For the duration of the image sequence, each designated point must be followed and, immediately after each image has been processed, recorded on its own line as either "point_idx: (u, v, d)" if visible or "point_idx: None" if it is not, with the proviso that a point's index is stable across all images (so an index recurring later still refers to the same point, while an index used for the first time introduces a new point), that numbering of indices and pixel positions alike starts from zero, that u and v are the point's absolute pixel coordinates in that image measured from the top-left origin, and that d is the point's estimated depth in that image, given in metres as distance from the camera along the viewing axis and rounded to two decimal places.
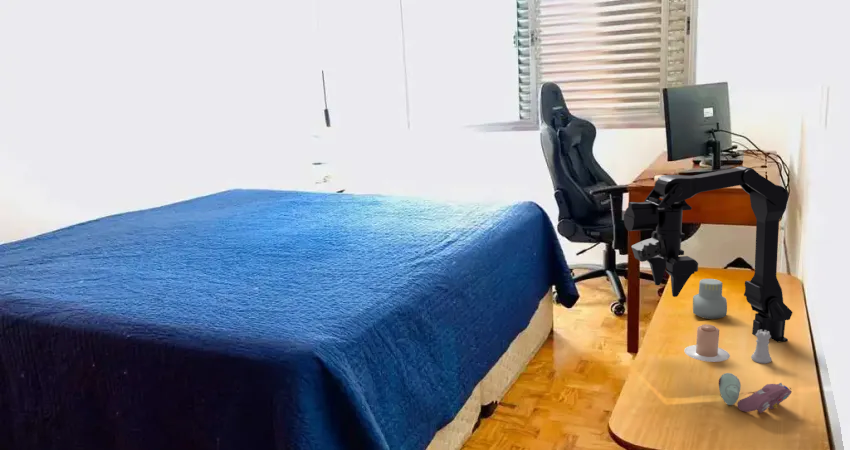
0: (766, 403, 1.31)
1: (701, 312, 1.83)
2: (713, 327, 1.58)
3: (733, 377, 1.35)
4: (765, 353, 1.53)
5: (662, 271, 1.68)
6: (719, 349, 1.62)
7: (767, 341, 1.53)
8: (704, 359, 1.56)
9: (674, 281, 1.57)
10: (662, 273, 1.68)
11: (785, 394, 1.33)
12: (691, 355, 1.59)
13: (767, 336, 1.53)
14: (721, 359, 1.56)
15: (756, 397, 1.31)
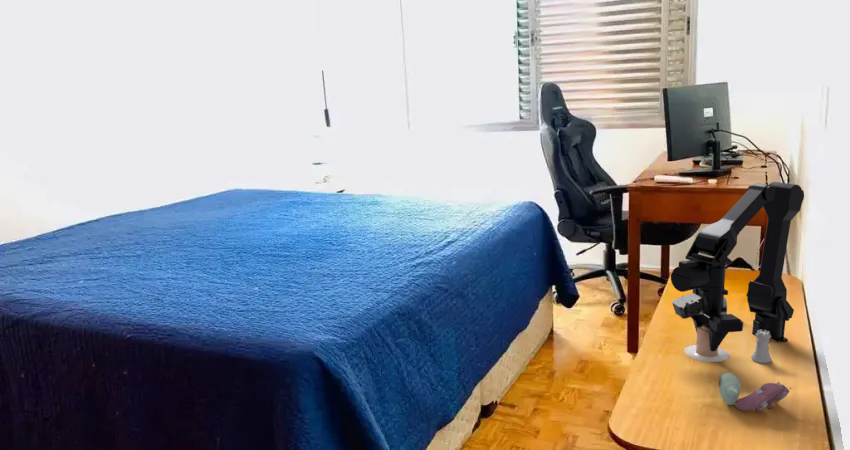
0: (764, 402, 1.31)
1: None
2: None
3: (733, 377, 1.35)
4: (765, 353, 1.53)
5: None
6: (719, 349, 1.62)
7: (767, 341, 1.53)
8: (704, 359, 1.56)
9: (713, 336, 1.55)
10: None
11: (783, 393, 1.33)
12: (691, 355, 1.59)
13: (767, 336, 1.53)
14: (721, 359, 1.56)
15: (755, 396, 1.31)
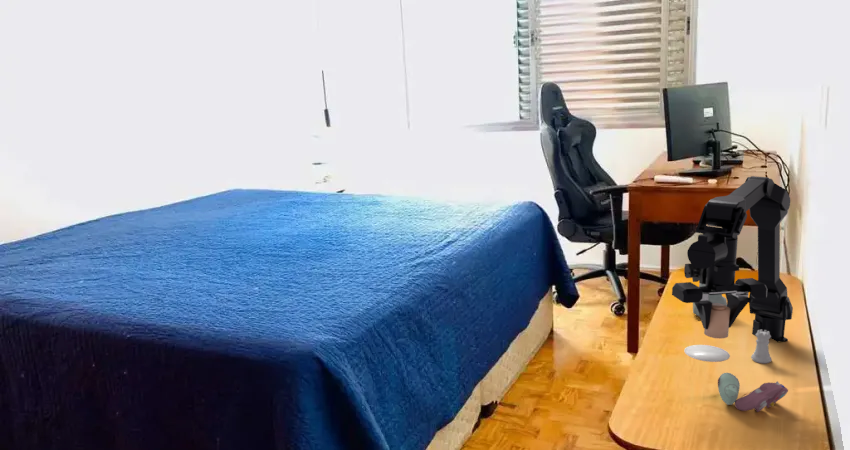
0: (763, 402, 1.31)
1: None
2: (717, 307, 1.44)
3: (732, 377, 1.35)
4: (765, 353, 1.53)
5: (732, 313, 1.44)
6: (719, 349, 1.62)
7: (767, 341, 1.53)
8: (704, 359, 1.56)
9: (697, 308, 1.45)
10: (731, 315, 1.44)
11: (782, 393, 1.34)
12: (691, 355, 1.59)
13: (767, 336, 1.53)
14: (721, 359, 1.56)
15: (754, 396, 1.31)
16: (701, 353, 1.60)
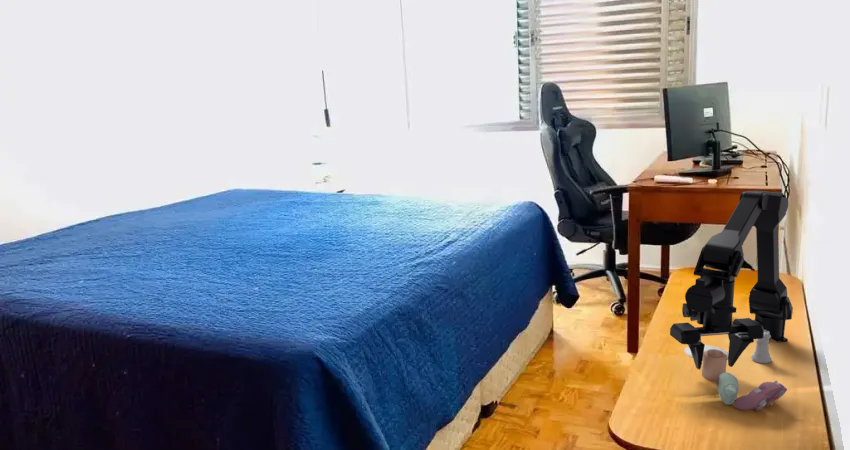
0: (763, 401, 1.31)
1: None
2: (714, 354, 1.46)
3: (731, 376, 1.35)
4: (765, 353, 1.53)
5: (734, 353, 1.46)
6: (719, 349, 1.62)
7: (767, 341, 1.53)
8: None
9: (690, 349, 1.47)
10: (734, 355, 1.46)
11: (781, 392, 1.34)
12: (691, 355, 1.59)
13: (767, 336, 1.53)
14: None
15: (753, 395, 1.32)
16: None
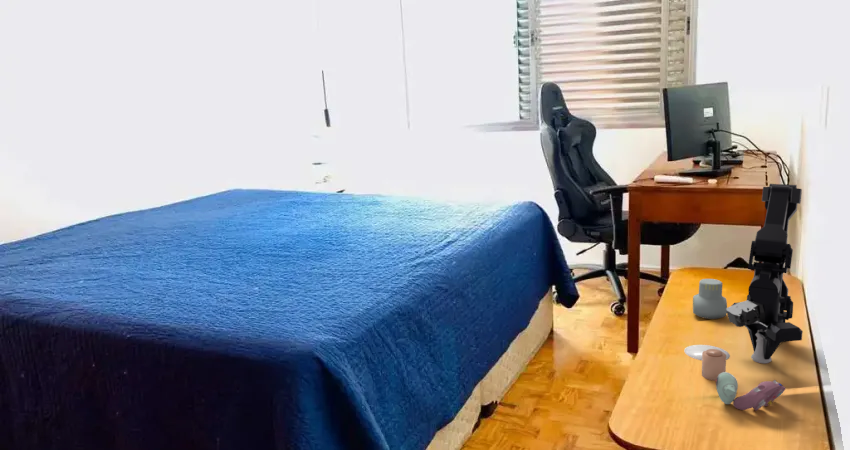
0: (762, 401, 1.32)
1: (701, 312, 1.83)
2: (714, 353, 1.46)
3: (730, 376, 1.35)
4: None
5: None
6: (719, 349, 1.62)
7: None
8: None
9: (767, 344, 1.51)
10: None
11: (779, 391, 1.34)
12: (691, 355, 1.59)
13: None
14: None
15: (753, 395, 1.32)
16: (701, 353, 1.60)
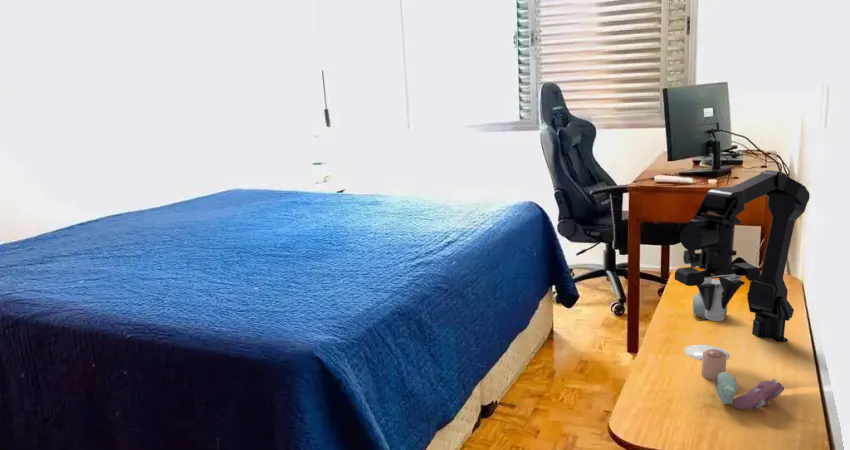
0: (762, 400, 1.32)
1: (701, 312, 1.83)
2: (714, 354, 1.46)
3: (730, 376, 1.35)
4: None
5: (726, 296, 1.55)
6: (719, 349, 1.62)
7: None
8: None
9: (700, 291, 1.56)
10: (726, 298, 1.56)
11: (779, 391, 1.34)
12: (691, 355, 1.59)
13: None
14: None
15: (752, 394, 1.32)
16: (701, 353, 1.60)
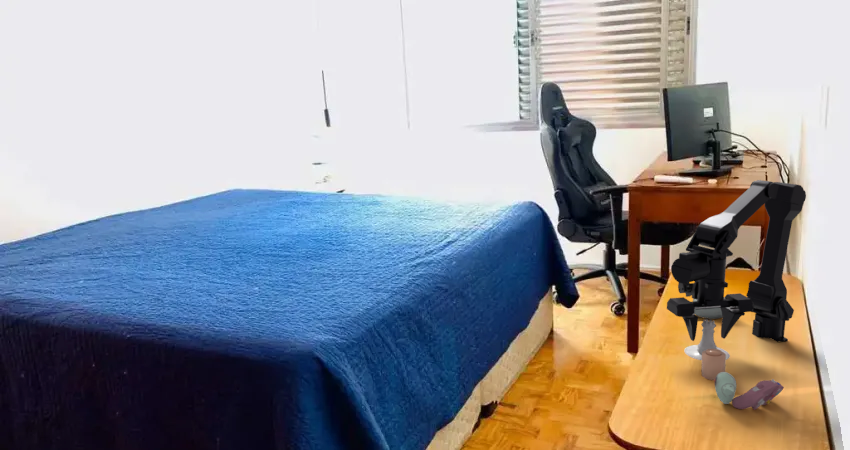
0: (761, 400, 1.32)
1: (701, 312, 1.83)
2: (714, 352, 1.46)
3: (729, 376, 1.35)
4: (702, 340, 1.59)
5: (727, 325, 1.58)
6: (719, 349, 1.62)
7: (705, 330, 1.58)
8: None
9: (685, 322, 1.59)
10: (726, 327, 1.58)
11: (778, 390, 1.35)
12: (691, 355, 1.59)
13: (703, 324, 1.58)
14: None
15: (752, 394, 1.32)
16: None
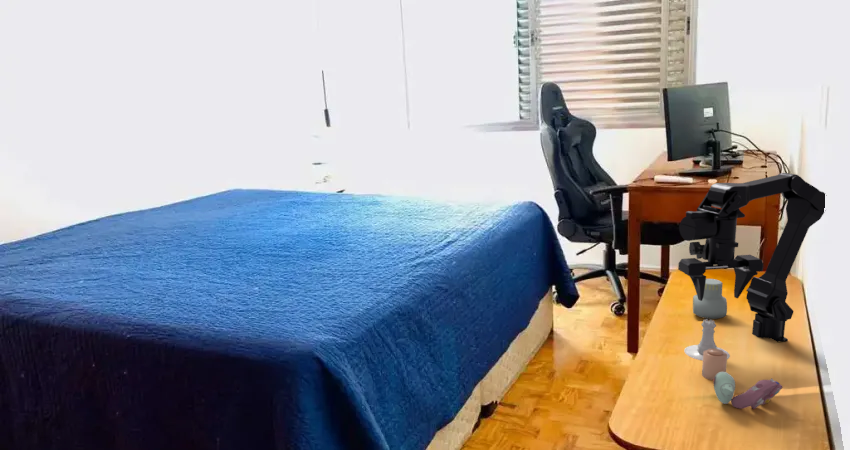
0: (760, 399, 1.32)
1: (701, 312, 1.83)
2: (717, 352, 1.46)
3: (728, 376, 1.36)
4: (702, 340, 1.59)
5: (740, 285, 1.62)
6: None
7: (705, 330, 1.58)
8: None
9: (693, 282, 1.62)
10: (739, 287, 1.62)
11: (777, 389, 1.35)
12: (691, 355, 1.59)
13: (703, 324, 1.58)
14: None
15: (751, 393, 1.32)
16: None
